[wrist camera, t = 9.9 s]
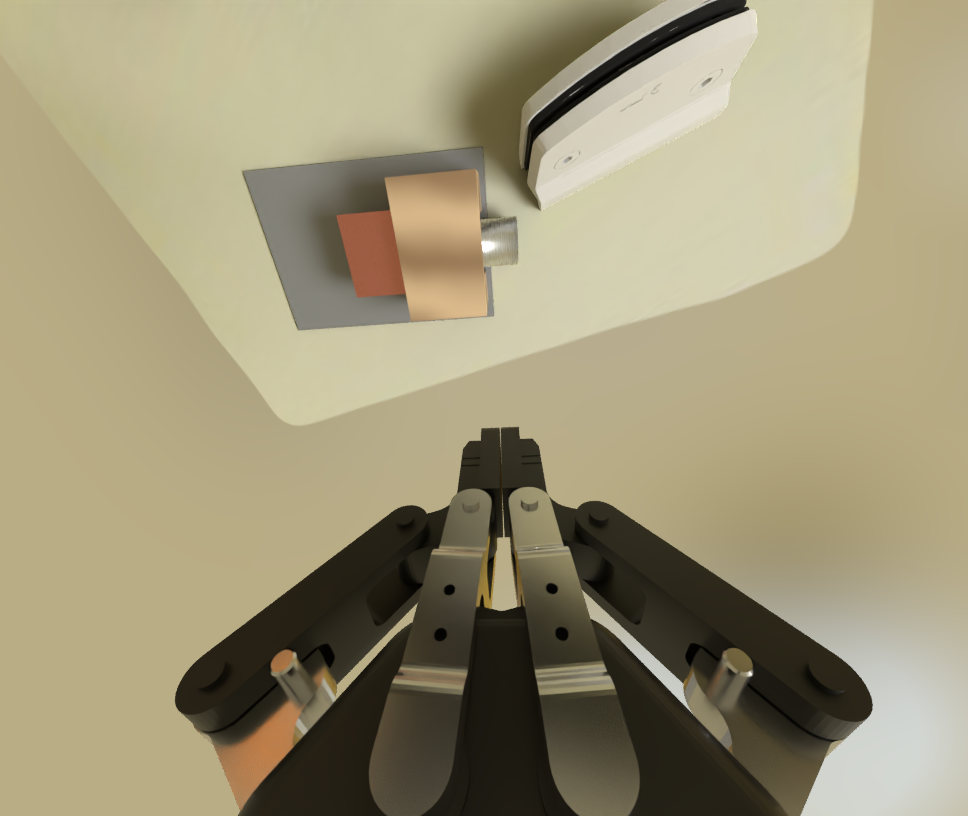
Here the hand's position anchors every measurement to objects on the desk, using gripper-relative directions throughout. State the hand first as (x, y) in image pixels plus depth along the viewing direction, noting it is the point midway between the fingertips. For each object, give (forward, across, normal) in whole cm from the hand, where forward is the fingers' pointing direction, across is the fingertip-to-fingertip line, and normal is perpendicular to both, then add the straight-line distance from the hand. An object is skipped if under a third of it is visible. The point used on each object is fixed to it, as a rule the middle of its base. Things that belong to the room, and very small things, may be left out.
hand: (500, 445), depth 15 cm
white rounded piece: (+27, -10, -14) cm, 32 cm away
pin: (+27, +6, -5) cm, 28 cm away
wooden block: (+27, +5, -5) cm, 28 cm away
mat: (+27, +12, -5) cm, 30 cm away
